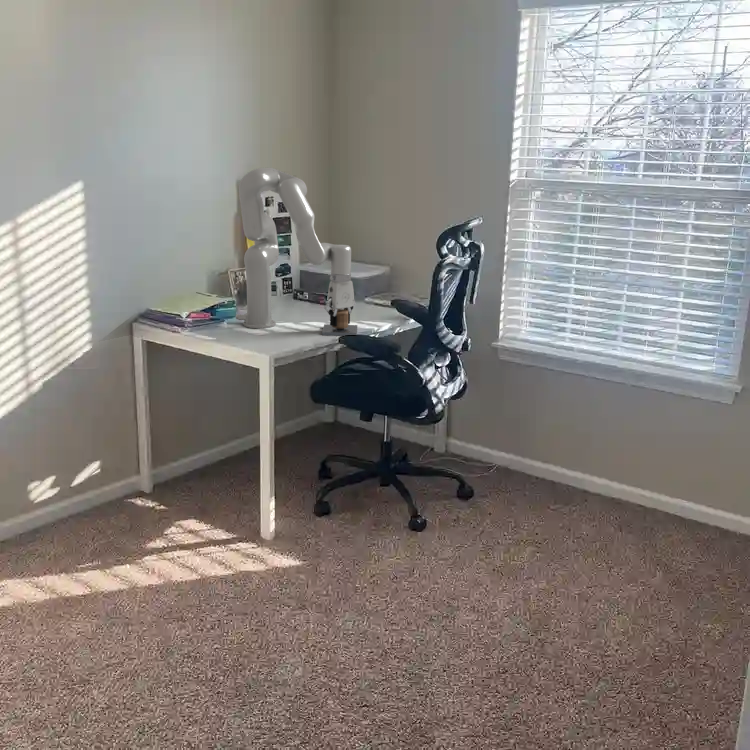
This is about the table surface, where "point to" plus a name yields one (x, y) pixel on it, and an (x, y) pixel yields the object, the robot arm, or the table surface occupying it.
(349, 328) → the shaft plate
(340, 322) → the wooden cylinder
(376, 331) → the table surface
